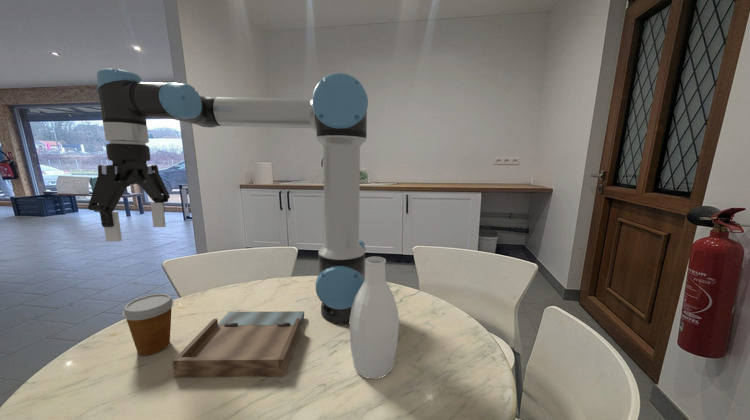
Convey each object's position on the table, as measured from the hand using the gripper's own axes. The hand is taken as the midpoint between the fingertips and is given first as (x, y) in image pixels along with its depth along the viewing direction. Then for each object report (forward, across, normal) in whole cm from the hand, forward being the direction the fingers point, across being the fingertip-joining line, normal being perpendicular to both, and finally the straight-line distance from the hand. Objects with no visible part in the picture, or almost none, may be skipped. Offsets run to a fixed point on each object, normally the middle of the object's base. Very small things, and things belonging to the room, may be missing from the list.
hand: (139, 233), depth 67 cm
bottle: (+28, +11, +57) cm, 65 cm away
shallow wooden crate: (+28, +2, +26) cm, 38 cm away
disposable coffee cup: (+28, +4, +3) cm, 29 cm away
